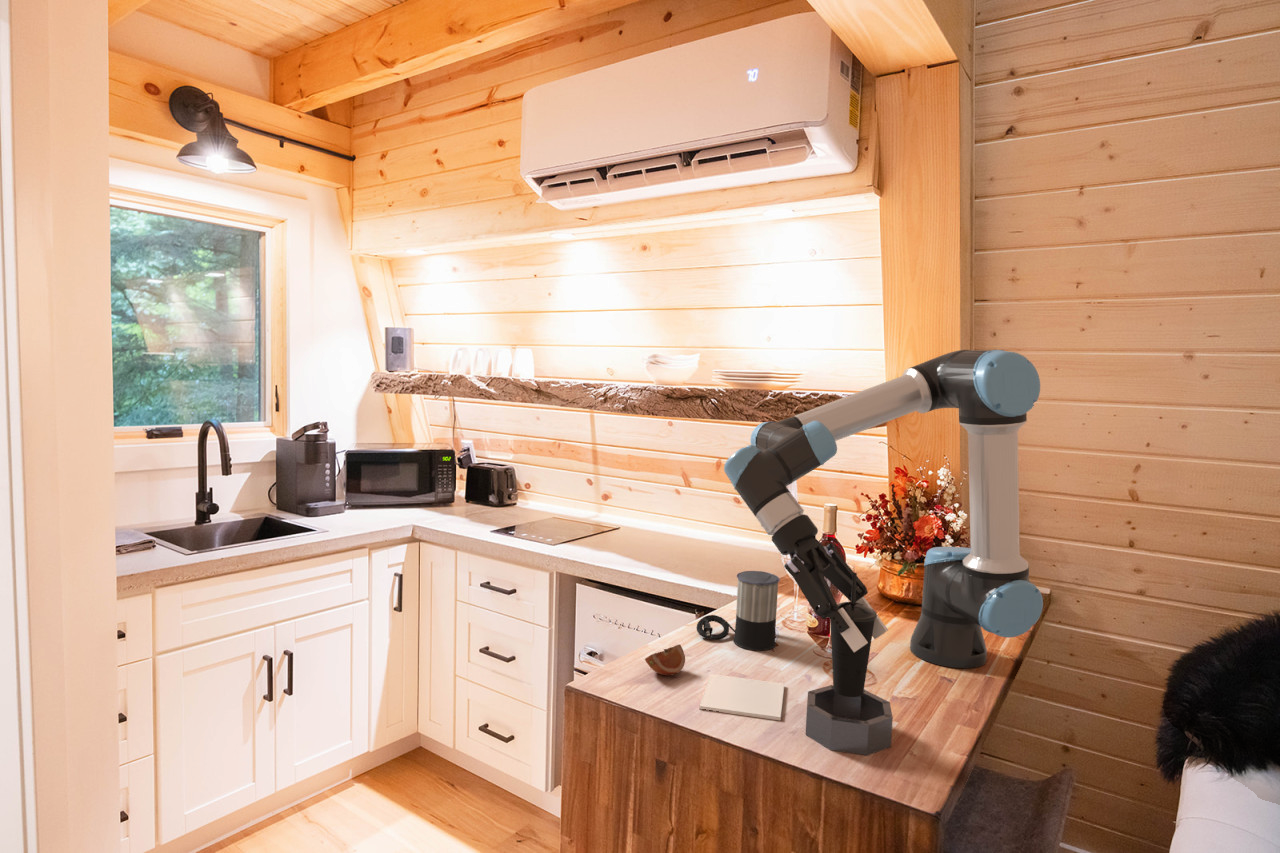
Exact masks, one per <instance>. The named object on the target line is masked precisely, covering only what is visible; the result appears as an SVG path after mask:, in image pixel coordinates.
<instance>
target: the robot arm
mask: <svg viewBox="0 0 1280 853" xmlns="http://www.w3.org/2000/svg"><path fill="white" fill-rule="evenodd" d="M1040 394H1041V378H1040V376H1039V373H1038V371H1037V369H1036V367H1035V365H1034V364H1033V362H1031V361H1030V360H1029V359H1028V358H1027V357H1026V356H1025V355H1023V354H1020V353H1018V352H1015V351H1010V350H1009V351H1008V350H1007V351H1006V350H1004V349H983V350H982V349H978V350H977V349H974V350H973V349H960V350H955V351H951V352H948V353H945V354H942V355H939V356H937V357H933V358H932V359H929V360H926V361H924V362H922V363H919V364H917V365H914V366H911V367H909V368H906V369H905V370H904V371H903V373H902V375H901V376H899V377H895V378H893V379H890V380H888V381H885V382H882V383H879V384H876V385H873V386H872V387H871V386H870V387H869V388H866V389H863V390H861V391H858V392H855V393H853V394H850V395H847V396H845V397H842V398H839V399H836V400H833V401H830V402H828V403H825V404H822V405H820V406H817V407H815V408H812V409H809V410H807V411H804V412H801V413H798V414H795V415H793V416H790V417H787V418H784V419H781V420H778V421H764V422H761V423H760V424H758V425H757V426H755V428H754V429H753V431H752V432H751V435H750V444H748V445H746V446H745V447H741V448H739V449H738V450H736V451H735V452H734V453H733V454H731V455H730V456H729V458H728V459H727V460H726V462H725V464H724V466H723V467H724V468H723V471H724V473H725V475H726V477H727V478H728V480H729V481H730V484H732V486H733V487H734V490H735V491H736V492H737V494H738V495H739V496H740V498H741V499H742V500H743V501H744V502H745V504H746V506H747V507H748V509H750V511H751V512H752V514H753V515H754V517H755V518H756V519H757V521H758V522H759V524H760V526H761V528H763V530H764V531H765V532H766V534H767V535H768V536H771V542H773V543H772V544H774V545H775V547H776V548H777V550H778V552H779V553H780V554H781V555H783V556H787V555H789V556H790V559H789V560H788V561H787V562H786V563H785V564H784V565H783V566H784V568H785V569H786V571H787V572H788V573H789V574H790V575H791V576H792V578H793V580H794V581H795V583H796V584H797V585H798V587H799V589H800V591H801V593H802V594H803V595H804V597H805V599H806V600H807V601H808V605H810V607H811V609H812V611H813V612H814V614H815V615H816V616H817V617H820V618H821V619H822V620H826V619H827V618H828V619H829V620H831V621H832V623H833V624H834V625H835V627H836V628H837V630H838V631H839V632H840V633H841V635H842V636H843V638H844V639H845V640H846V642H847V643H848V645H849V646H850V648H851V649H852V650H853V652H856V651H857V650H858V649H860V648H861V647H863V646H864V645H866V644H867V643H868V642H867V641H866V639H865V638H864V636H863V635H862V634H861V632H860V631H859V629H858V628H857V627H856V625H855V624H854V622H853V621H852V620H851V619H850V617H849V616H848V614H847V613H846V611H845V610H844V609H843V607H842V608H841V609H839V610H838V605H837V604H838V603H837V601H836V599H835V597H834V594H833V593H832V591H831V588H830V587H829V584H828V582H827V580H828V581H829V582H830V583H831V584H832V585H833V586H834V587H835V588H836V589H837V590H838V591H839V592H840V593H841V594H842V595H843V596H844V597H846V598H847V599H848V601H849V602H851V592H852V574H853V573H855V572H854V570H853V569H852V568H851V567H850V566H849V565H848V563H847V562H846V561H845V560H844V559H843V556H841V555H840V553H839V552H838V550H837V549H836V547H835V545H834V544H833V543H831V542H830V543H828V544H827V545H826V546H824V545H823V544H822V543H821V542H820V541H819V540H818V539H817V538H816V537H817V535H818V532H819V530H818V528H817V526H816V525H815V523H814V522H813V520H812V519H811V518H810V516H809V515H808V514H804V510H805V509H804V508H803V507H802V506H801V505H800V503H799V502H798V500H797V499H796V497H795V496H794V495H793V494H792V493H791V491H790V489H789V488H788V487H787V486H790V485H791V484H793V483H794V482H796V481H798V480H799V479H801V478H802V477H804V476H806V475H807V474H809V473H811V472H813V471H814V470H816V469H817V468H819V467H821V466H824V465H825V463H827V462H828V461H829V460H831V459H832V458H833V457H834V456H836V454H837V452H838V445H837V441H840V440H841V439H844V438H847V437H850V436H852V435H855V434H858V433H861V432H863V431H866V430H868V429H871V428H874V427H877V426H879V425H883V424H885V423H888V422H890V421H893V420H896V419H898V418H901V417H904V416H906V415H909V414H912V413H914V412H918V413H920V414H926V413H929V412H932V411H935V410H940V409H958V423H959V425H960V426H961V427H963V429H965V430H966V432H967V441H968V442H967V444H968V446H967V448H968V449H967V450H968V452H967V453H968V491H969V492H968V493H969V495H968V496H969V500H968V501H969V528H970V529H969V535H970V536H969V537H970V538H969V540H970V547H962V546H961V547H959V546H935V547H932V548H929V549H928V550H927V551H926V554H925V559H924V564H923V567H924V571H923V587H922V602H921V613H920V617H919V619H918V621H917V623H916V626H915V627H914V630H913V633H912V634H911V636H910V637H911V638H910V641H909V642H910V643H909V644H910V646H909V650H910V651H911V653H912V654H913V655H914V656H915V657H917V658H919V659H921V660H923V661H926V662H929V663H930V664H934V665H939V666H941V667H947V668H952V669H953V668H954V669H955V668H956V669H973V668H980V667H982V666H984V665H985V664H986V663H987V655H988V650H987V646H986V642H985V641H986V640H985V637H984V634H983V630H984V631H986V632H987V633H991V634H994V635H996V636H998V637H1002V638H1016V637H1019V636H1022V635H1024V634H1025V633H1027V632H1028V631H1030V630H1031V628H1032V627H1033V625H1036V623H1037V622H1038V620H1039V619H1040V617H1041V614H1042V612H1043V607H1044V598H1043V594H1042V593H1041V590H1039V588H1037V586H1036V585H1035V584H1034V583H1032V582H1030V568H1029V567H1030V566H1029V564H1030V563H1029V562H1028V561H1027V560H1026V559H1025V557H1023V556H1021V548H1020V498H1019V497H1020V493H1019V492H1020V491H1019V488H1020V487H1019V437H1018V436H1019V433H1018V432H1019V430H1020V429H1021V428H1022V427H1023V426H1025V425H1026V423H1027V419H1028V418H1027V415H1028V414H1027V413H1028V412H1029V411H1030V410H1032V408H1034V406H1035V402H1037V401H1038V399H1039V397H1040ZM826 579H827V580H826ZM868 593H869V592H868V589H867V586H866V585H865V584H864V583H863V582H862V580H861V579H860V578H859V576H857V579H856V597H855V602H856V603H860V604H863V605H865V606H867V607H869V608H871V609H873V607H872V606H871V604H870V603H869V601H868V600H867V599H866V598H865V596H866V595H867V594H868ZM831 621H830V622H831ZM982 629H983V630H982ZM888 631H889V629H888V627H887V626H886V625H885V623H884V622H883V621H882V620H881V618H880V616H879V615H878V614H877V617H876V619H875V621H874V627H873V634H872V638H873V639H874V640H876V639H878V638H880V637H881V636H882V635H884V634H885V633H886V632H888Z"/></svg>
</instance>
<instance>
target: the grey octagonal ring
mask: <svg viewBox="0 0 1280 853" xmlns="http://www.w3.org/2000/svg"><path fill="white" fill-rule="evenodd" d="M805 717H806V718H805V736H807V737H809V738H810V739H811V740H813V741H815V742H817V743H818V744H820V745H821V746H823V747H824V748H826V749H828V750H830V751H833V752H839V753H847V754H848V753H849V754H855V755H860V756H869V755H872V754H875V753H878V752H881V751H883V750H886V749H889V748H891V747H892V746H891V745H892V733H893V721H894V720H893V719H894V717H893V713H892V707H891V703H890V701H888V700H886V699H884V698H882V697H881V696H878V695H877V694H874V693H872V692H870V691H868V690H866V689H864V692H863V694H862V695H861V696H858V697H847V696H842V695H840V694H838V693H836V692H835V691H834V689H833V684H830V685H827V686H823V687H819V688H815V689H813V690H809V691H807V700H806V716H805Z"/></svg>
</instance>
